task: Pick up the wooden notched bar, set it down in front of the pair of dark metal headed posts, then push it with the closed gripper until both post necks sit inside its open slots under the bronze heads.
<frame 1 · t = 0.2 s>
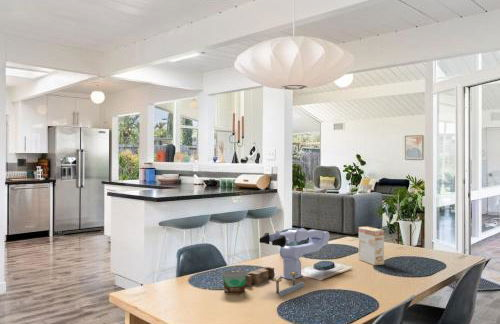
hand: (266, 241, 205), 21 cm above the table, tool horizontal, fingers open, 7 cm apart
keyhole posts: (286, 289, 199), on the table
coffeecake box: (371, 262, 248), on the table
food container: (236, 293, 195), on the table
wooden notched bar: (258, 281, 212), on the table
back rail: (292, 290, 197), on the table
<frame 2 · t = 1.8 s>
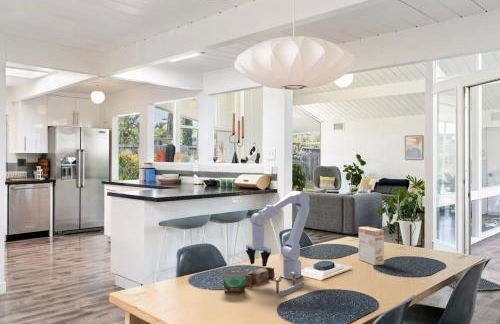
hand: (258, 265, 212), 8 cm above the table, tool pointing down, fingers open, 7 cm apart
nothing on the table moved.
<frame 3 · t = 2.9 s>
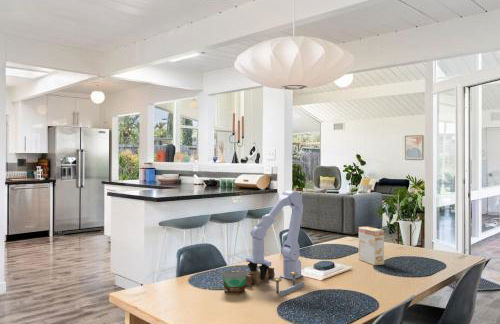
hand: (258, 278, 212), 1 cm above the table, tool pointing down, fingers closed on wooden notched bar, 5 cm apart
wooden notched bar: (258, 281, 212), on the table, touching gripper
everything else where it was.
when the fingers open (2 cm above the table, at t = 6.5 s): wooden notched bar stays where it is, on the table.
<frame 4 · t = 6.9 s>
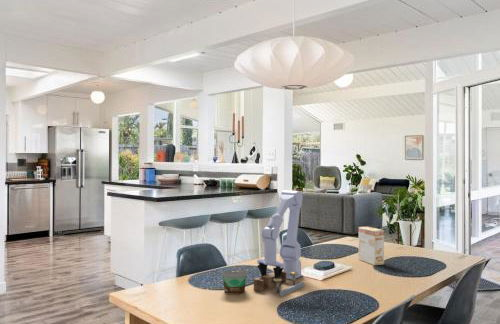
hand: (270, 280, 205), 2 cm above the table, tool pointing down, fingers open, 7 cm apart
wooden notched bar: (270, 285, 205), on the table
everything else where it was.
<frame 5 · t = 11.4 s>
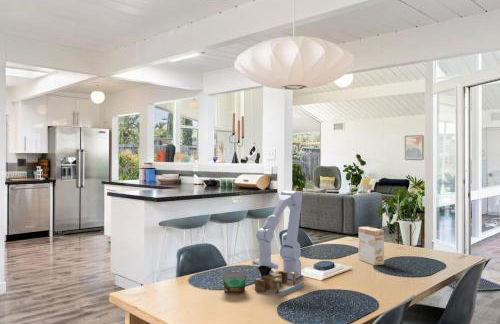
hand: (265, 281, 207), 1 cm above the table, tool pointing down, fingers closed
wooden notched bar: (271, 286, 205), on the table, touching gripper
everything else where it was.
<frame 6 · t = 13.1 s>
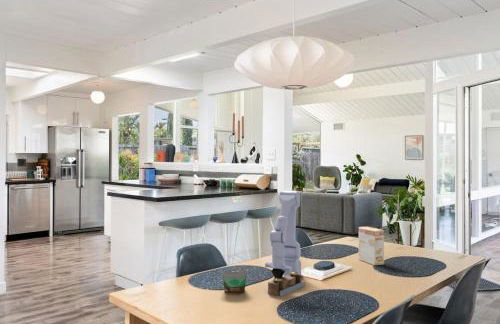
hand: (278, 284, 202), 1 cm above the table, tool pointing down, fingers closed
wooden notched bar: (285, 289, 199), on the table, touching gripper
everything else where it was.
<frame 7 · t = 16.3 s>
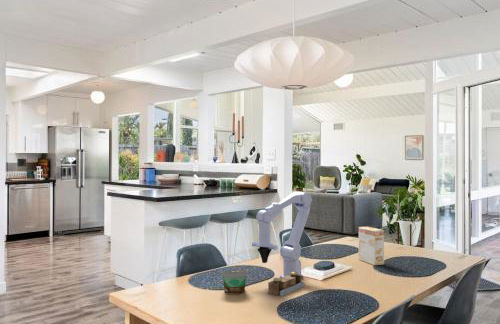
hand: (264, 262, 210), 10 cm above the table, tool pointing down, fingers closed
wooden notched bar: (285, 289, 199), on the table
everything else where it was.
at the end: wooden notched bar 0.5 cm from the target spot, on the table; wooden notched bar tilted 0°; the gripper is holding nothing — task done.
